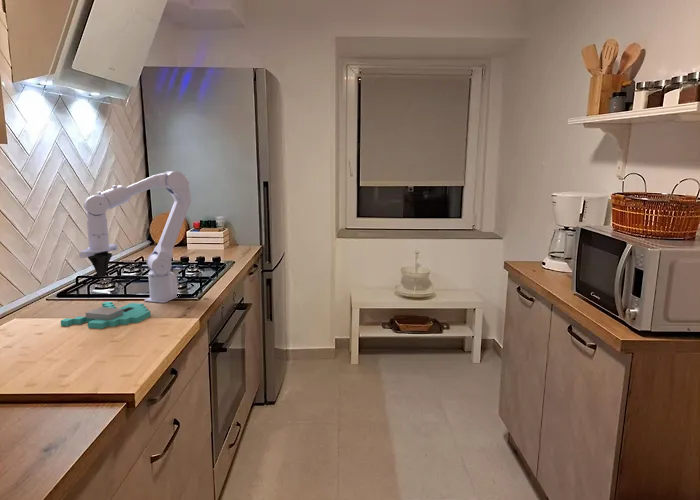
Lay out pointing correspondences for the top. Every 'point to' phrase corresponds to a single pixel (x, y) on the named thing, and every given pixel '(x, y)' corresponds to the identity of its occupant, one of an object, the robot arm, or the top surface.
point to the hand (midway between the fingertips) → (101, 276)
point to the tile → (104, 313)
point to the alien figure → (130, 315)
